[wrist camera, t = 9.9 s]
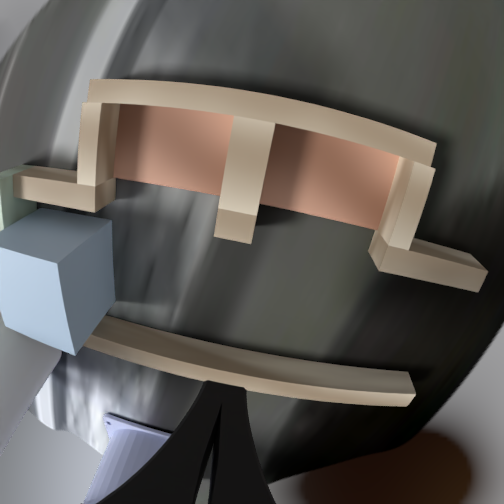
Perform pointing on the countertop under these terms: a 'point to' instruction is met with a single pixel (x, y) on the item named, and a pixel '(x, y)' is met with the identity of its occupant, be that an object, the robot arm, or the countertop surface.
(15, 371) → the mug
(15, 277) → the block
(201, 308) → the countertop surface
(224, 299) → the countertop surface
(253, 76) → the countertop surface
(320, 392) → the beige flat frame
